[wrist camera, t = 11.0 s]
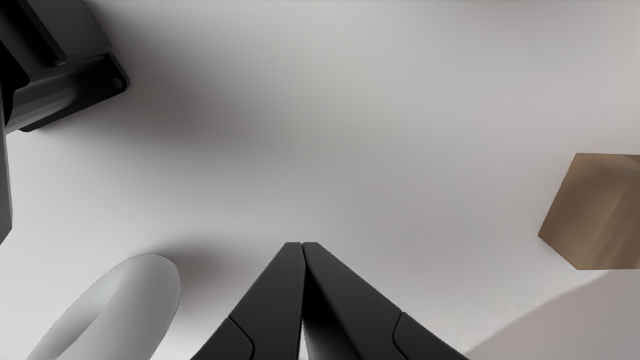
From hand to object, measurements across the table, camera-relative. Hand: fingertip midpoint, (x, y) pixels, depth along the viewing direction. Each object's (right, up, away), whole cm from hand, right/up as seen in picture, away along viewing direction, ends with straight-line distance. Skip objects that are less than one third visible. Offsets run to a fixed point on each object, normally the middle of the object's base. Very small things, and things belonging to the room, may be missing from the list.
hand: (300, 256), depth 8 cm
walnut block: (+18, 0, +14) cm, 23 cm away
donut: (-12, -4, +15) cm, 20 cm away
